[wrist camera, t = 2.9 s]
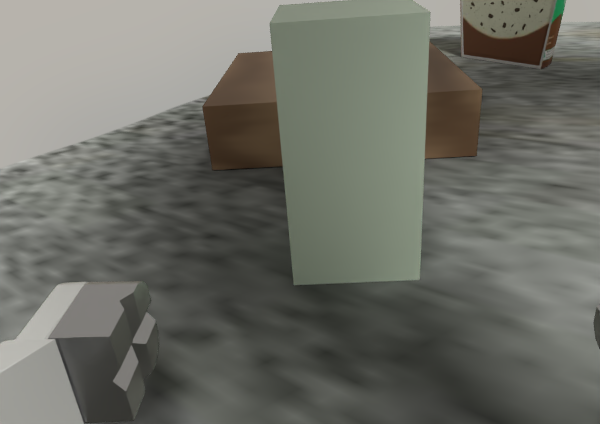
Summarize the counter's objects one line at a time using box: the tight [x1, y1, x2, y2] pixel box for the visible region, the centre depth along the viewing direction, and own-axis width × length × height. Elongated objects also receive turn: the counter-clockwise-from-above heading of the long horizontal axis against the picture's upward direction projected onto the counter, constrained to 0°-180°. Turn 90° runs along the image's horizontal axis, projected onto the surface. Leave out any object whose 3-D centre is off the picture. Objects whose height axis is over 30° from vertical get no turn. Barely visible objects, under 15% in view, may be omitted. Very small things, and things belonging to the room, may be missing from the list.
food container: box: [460, 0, 566, 69], centre depth 52 cm, size 12×6×10 cm, turn 34°
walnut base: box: [203, 41, 482, 170], centre depth 38 cm, size 16×16×4 cm
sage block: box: [270, 0, 430, 285], centre depth 21 cm, size 5×5×10 cm
